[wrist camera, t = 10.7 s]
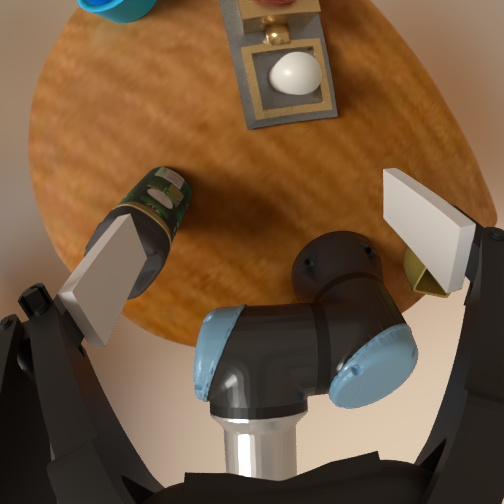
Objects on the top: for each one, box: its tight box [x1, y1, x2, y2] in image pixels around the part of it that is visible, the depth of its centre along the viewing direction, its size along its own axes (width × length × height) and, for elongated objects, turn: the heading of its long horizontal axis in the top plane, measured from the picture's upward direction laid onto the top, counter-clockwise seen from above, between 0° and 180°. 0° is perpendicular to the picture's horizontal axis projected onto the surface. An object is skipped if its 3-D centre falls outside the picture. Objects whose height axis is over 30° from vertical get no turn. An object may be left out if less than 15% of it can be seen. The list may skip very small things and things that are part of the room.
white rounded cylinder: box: [268, 52, 322, 95], centre depth 28 cm, size 4×4×10 cm
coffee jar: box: [84, 167, 192, 300], centre depth 34 cm, size 10×8×19 cm
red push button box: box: [219, 0, 338, 130], centre depth 26 cm, size 22×12×11 cm, turn 11°
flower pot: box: [403, 246, 451, 298], centre depth 43 cm, size 9×9×9 cm
